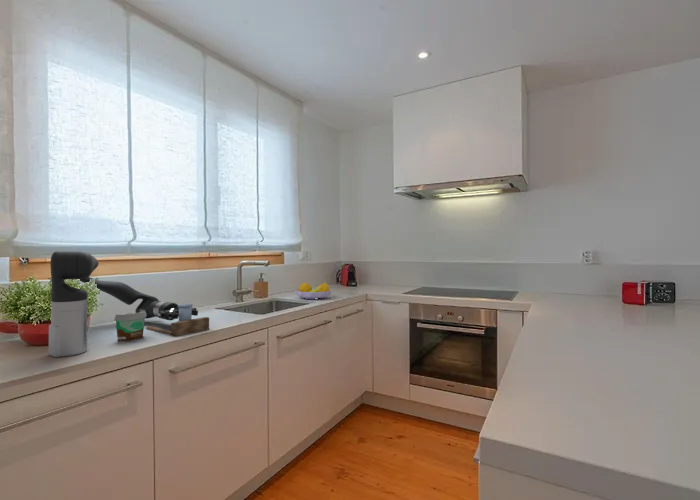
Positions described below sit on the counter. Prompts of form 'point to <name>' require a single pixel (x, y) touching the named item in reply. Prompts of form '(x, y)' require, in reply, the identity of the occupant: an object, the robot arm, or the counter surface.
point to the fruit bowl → (313, 291)
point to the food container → (130, 326)
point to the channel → (184, 327)
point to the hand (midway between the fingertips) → (187, 314)
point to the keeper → (185, 312)
